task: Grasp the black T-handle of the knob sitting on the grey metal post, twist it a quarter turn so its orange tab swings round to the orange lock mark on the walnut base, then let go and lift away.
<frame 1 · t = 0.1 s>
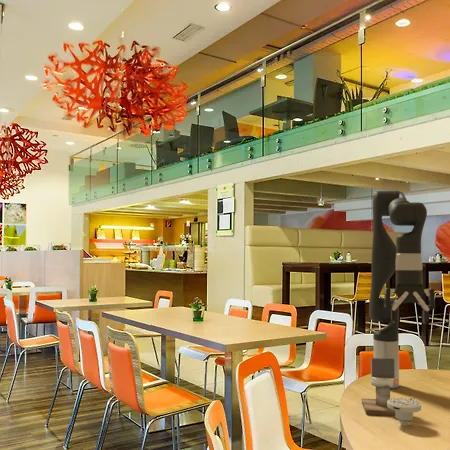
hand: (409, 323, 150), 29 cm above the table, tool pointing down, fingers open, 8 cm apart
knob: (384, 371, 162), point 12 cm above the table, hinge at 0.0°
post base: (383, 409, 161), on the table
showerhead: (404, 425, 147), on the table
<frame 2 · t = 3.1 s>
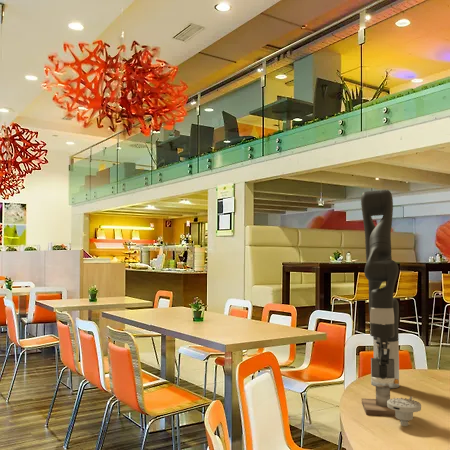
hand: (382, 375, 162), 11 cm above the table, tool pointing down, fingers closed on knob, 2 cm apart
knob: (384, 371, 162), point 12 cm above the table, hinge at 0.0°, touching gripper
everything else where it was.
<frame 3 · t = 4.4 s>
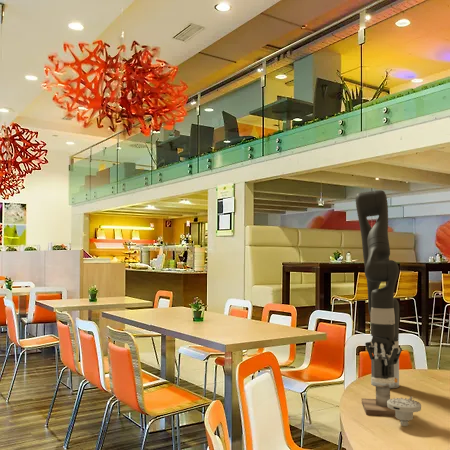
hand: (383, 375, 162), 11 cm above the table, tool pointing down, fingers closed on knob, 2 cm apart
knob: (384, 371, 162), point 12 cm above the table, hinge at 23.3°, touching gripper
everything else where it was.
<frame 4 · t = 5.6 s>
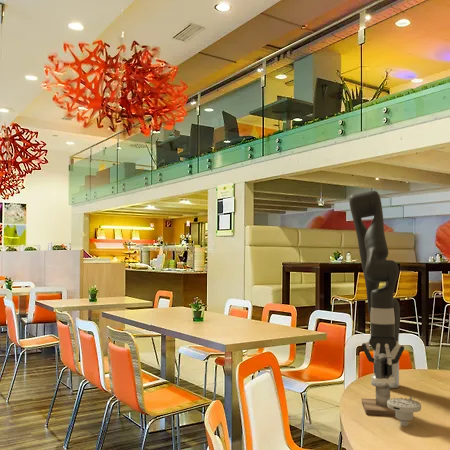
hand: (383, 375, 162), 11 cm above the table, tool pointing down, fingers closed on knob, 3 cm apart
knob: (383, 371, 163), point 12 cm above the table, hinge at 57.9°, touching gripper
everything else where it was.
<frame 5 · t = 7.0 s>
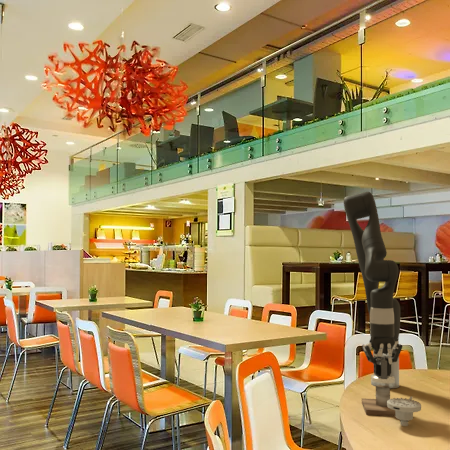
hand: (382, 375, 163), 11 cm above the table, tool pointing down, fingers closed on knob, 3 cm apart
knob: (382, 371, 163), point 12 cm above the table, hinge at 90.3°, touching gripper
everything else where it was.
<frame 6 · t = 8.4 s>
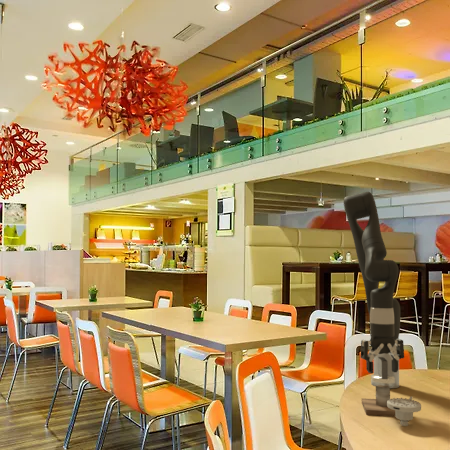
hand: (382, 372, 162), 12 cm above the table, tool pointing down, fingers open, 8 cm apart
knob: (382, 371, 163), point 12 cm above the table, hinge at 92.1°
everything else where it was.
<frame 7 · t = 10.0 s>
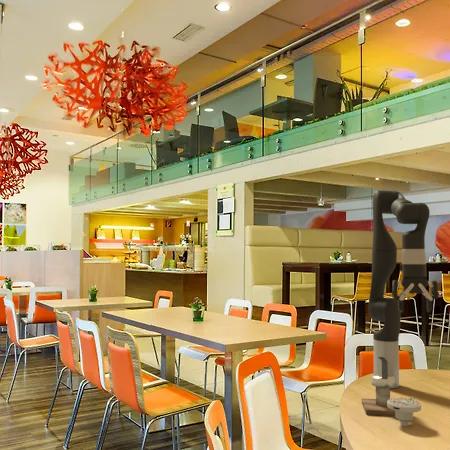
hand: (415, 312, 166), 31 cm above the table, tool pointing down, fingers open, 8 cm apart
nothing on the table moved.
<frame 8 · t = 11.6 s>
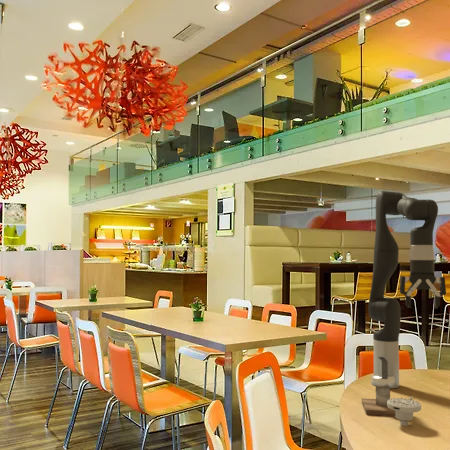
hand: (422, 307, 167), 32 cm above the table, tool pointing down, fingers open, 8 cm apart
nothing on the table moved.
at the end: knob at +92° (first picture: +0°); the gripper is holding nothing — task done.
